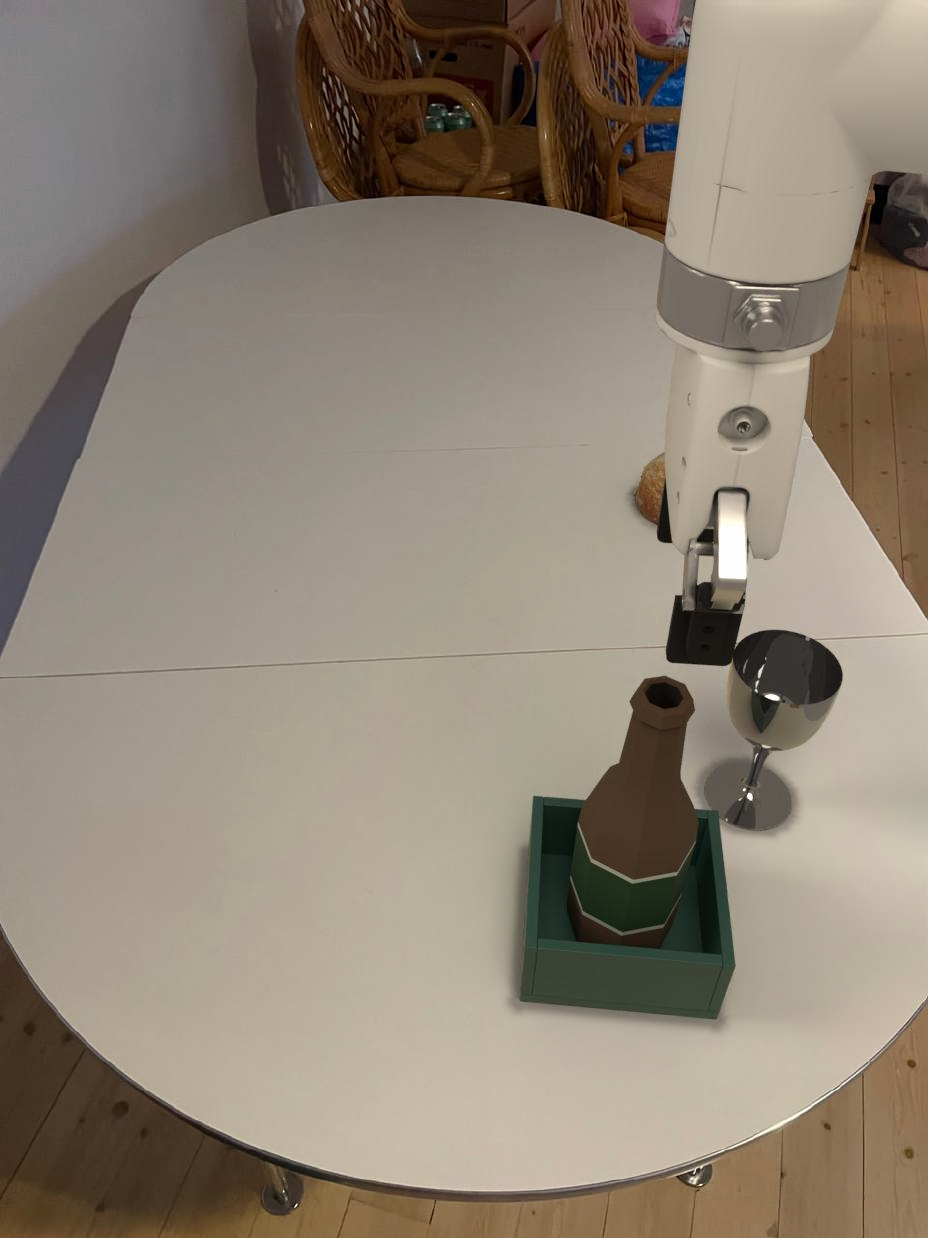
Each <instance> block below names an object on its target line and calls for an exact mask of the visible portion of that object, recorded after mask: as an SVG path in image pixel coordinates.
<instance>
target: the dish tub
mask: <svg viewBox="0 0 928 1238" xmlns="http://www.w3.org/2000/svg"><path fill="white" fill-rule="evenodd" d="M585 801H586V799H579V798H568V797H553V796H543V795H533V796H532V806H531V814H530V817H531V818H530V826H529V827H530V829H529V836H528V837H529V838H528V848H527V849H528V850H527V865H526V866H527V867H526V881H525V882H526V883H525V901H524V918H523V920H524V921H523V934H522V935H523V937H522V953H521V954H522V956H521V969H520V970H521V972H520V973H521V974H520V989H519V990H520V992H519V1001H520V1002H530V1003H541V1004H551V1005H561V1006H571V1007H581V1008H582V1007H583V1008H592V1009H601V1010H602V1009H604V1010H615V1011H626V1012H636V1013H645V1014H657V1015H666V1016H667V1015H668V1016H678V1017H689V1018H700V1019H710V1020H717V1019H718V1017H719V1014H720V1011H721V1008H722V1006H723V1003H724V1000H725V997H726V994H727V992H728V989H729V986H730V983H731V980H732V977H733V975H734V971H735V970H736V957H735V950H734V938H733V931H732V930H733V929H732V920H731V912H730V904H729V893H728V887H727V884H728V883H727V876H726V868H725V859H724V850H723V840H722V832H721V824H720V817H719V813H718V811H717V810H712V809H703V808H700V809H699V808H695V812H696V815H697V819H698V822H699V823H698V830H697V838H696V842H695V846H694V850H693V853H692V857H691V861H690V865H689V868H688V872H687V876H686V880H685V883H684V887H683V891H682V894H681V898H680V902H679V906H678V909H677V913H676V916H675V919H674V921H673V924H672V927H671V929H670V931H669V932H668V934H667V936H666V938H665V939H664V941H663V943H662V945H661V947H660V948H659V949H653V948H642V947H631V946H619V945H608V944H597V943H586V942H577V939H576V936H575V933H574V930H573V927H572V924H571V922H570V919H569V916H568V913H567V896H568V889H569V882H570V875H571V868H572V861H573V854H574V847H575V839H576V832H577V825H578V820H579V816H580V812H581V809H582V805H583V804H584V802H585Z"/></svg>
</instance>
